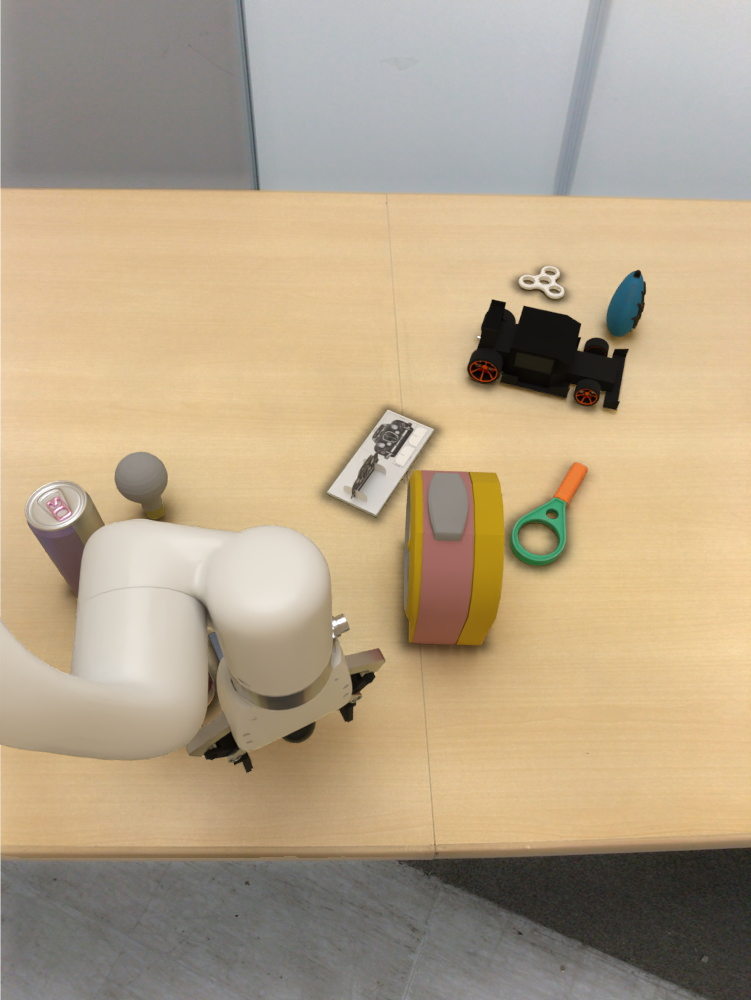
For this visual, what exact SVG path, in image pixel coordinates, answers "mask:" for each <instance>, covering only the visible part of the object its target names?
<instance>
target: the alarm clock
mask: <svg viewBox="0 0 751 1000" xmlns="http://www.w3.org/2000/svg"><path fill="white" fill-rule="evenodd" d="M406 491H407V492H406V504H405V505H406V506H405V521H404V523H405V525H404V552H403V553H404V554H403V611H404V614H405V616H406V618H407V620H408V644H427V645H429V644H431V645H456V646H457V645H458V646H460V645H461V646H482V645H483V642H484V641H485V639H486V637H487V635H488V633H489V632H490V631H491V628H492V627H493V625H494V623H495V621H496V619H497V617H498V611H499V607H500V602H501V597H502V587H503V577H504V565H505V514H504V513H505V511H504V499H503V493H502V485H501V482H500V479H499V476H498V475H497V472H494V471H493V472H490V471H464V470H463V471H460V470H459V471H458V470H431V469H430V470H429V469H428V470H427V469H426V470H425V469H421V470H420V469H414V470H413V472H412V473H411V475H410V477H409V478H408V481H407V490H406Z"/></svg>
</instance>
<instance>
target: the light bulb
mask: <svg viewBox="0 0 751 1000" xmlns="http://www.w3.org/2000/svg"><path fill="white" fill-rule="evenodd" d="M168 477H169V475H168V470H167V468H166V465H165V463H164V462H163V461H162V460H161V459H160V458H159V457H157V456H156V455H154V454H152V453H150V452H146V451H135V452H131V453H129V454H127V455H125V456H124V457H123V458H122V459H120V461H119V462H118V464H117V465H116V468H115V470H114V484H115V486H116V489H117V491H118V492H119V493H120V495H122V497H123V498H125V499H126V500H128V501H129V502H132V503H134V504H135V503H136V504H139V505H141V508H142V509H143V510H144V512H145V514H146V516H147V517H148V518H150V520H158V519H161V518H163V516H165V513H166V509H165V506H164V504H163V499H162V495H163V494H164V492H165V490H166V489H167V487H168V481H169V480H168Z"/></svg>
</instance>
